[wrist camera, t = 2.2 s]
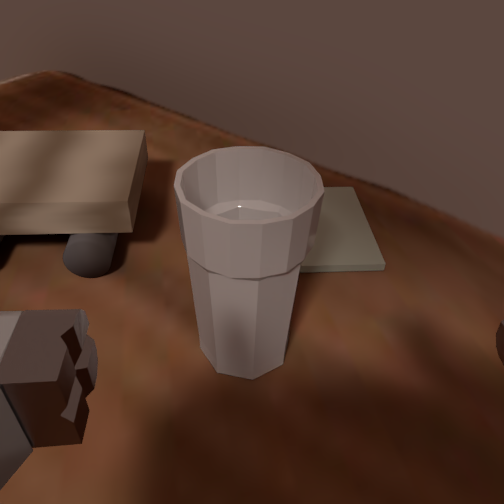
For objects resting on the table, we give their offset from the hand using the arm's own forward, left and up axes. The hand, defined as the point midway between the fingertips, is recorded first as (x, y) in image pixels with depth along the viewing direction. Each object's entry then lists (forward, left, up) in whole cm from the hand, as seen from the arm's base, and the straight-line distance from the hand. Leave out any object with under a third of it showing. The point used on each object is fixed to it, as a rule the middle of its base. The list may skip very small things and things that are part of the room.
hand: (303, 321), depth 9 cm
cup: (0, +12, -15) cm, 20 cm away
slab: (-14, +24, -15) cm, 32 cm away
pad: (+5, +23, -15) cm, 28 cm away
